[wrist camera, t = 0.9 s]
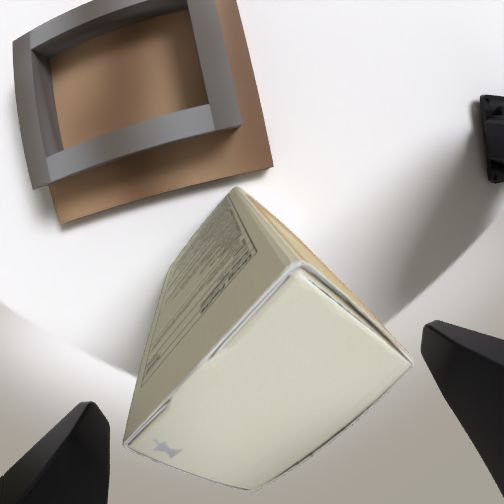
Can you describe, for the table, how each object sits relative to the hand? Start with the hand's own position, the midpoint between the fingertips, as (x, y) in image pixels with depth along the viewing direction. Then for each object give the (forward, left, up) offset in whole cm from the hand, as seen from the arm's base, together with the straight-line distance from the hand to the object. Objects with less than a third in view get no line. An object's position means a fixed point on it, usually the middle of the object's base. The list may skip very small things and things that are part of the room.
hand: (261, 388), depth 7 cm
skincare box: (0, 0, -11) cm, 11 cm away
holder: (+3, -10, -11) cm, 15 cm away
